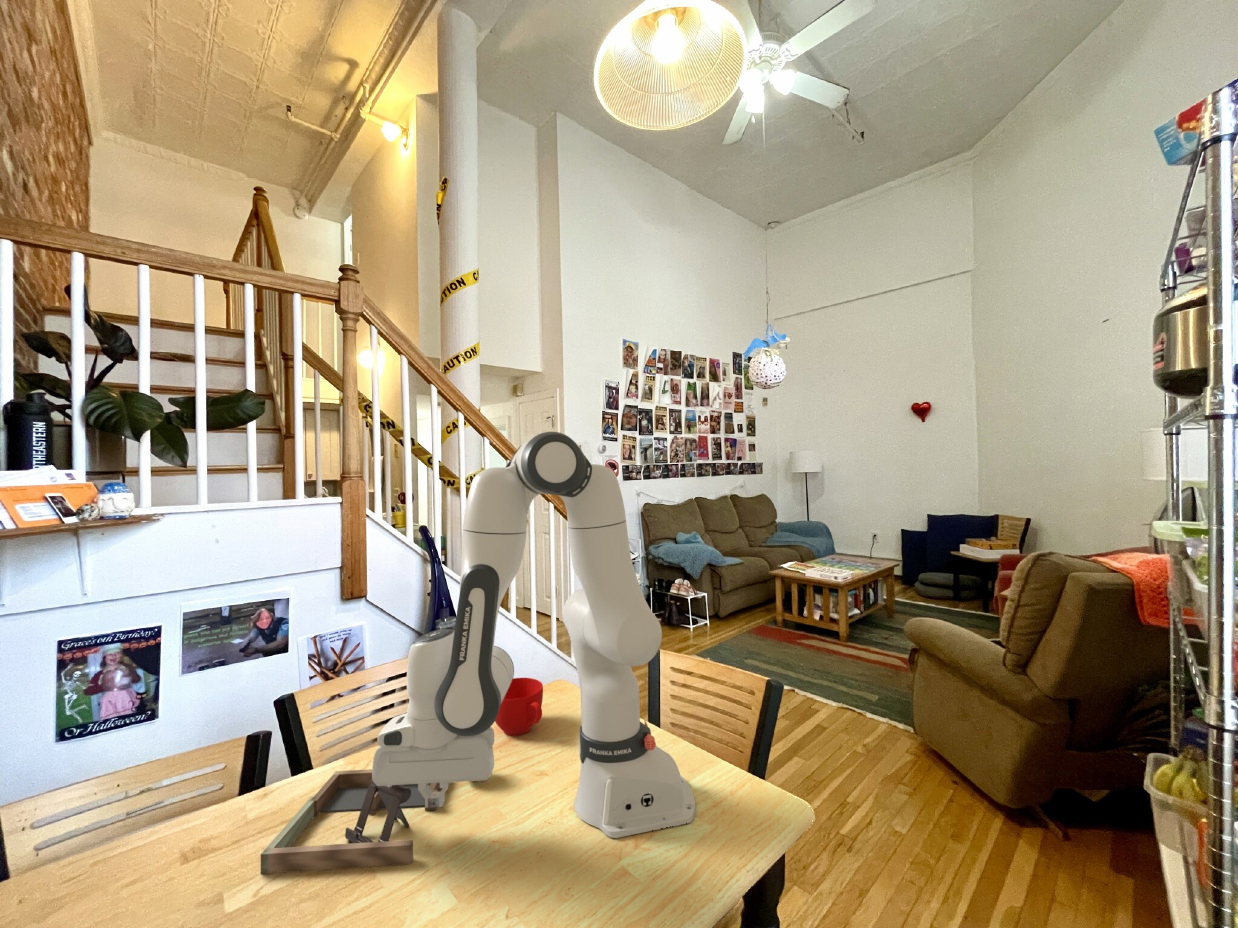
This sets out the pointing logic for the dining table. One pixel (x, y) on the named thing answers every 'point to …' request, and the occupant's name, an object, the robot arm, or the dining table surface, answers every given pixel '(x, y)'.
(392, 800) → the portable electronic device stand
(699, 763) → the dining table surface
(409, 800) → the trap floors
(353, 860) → the channel
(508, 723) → the ceramic cup
